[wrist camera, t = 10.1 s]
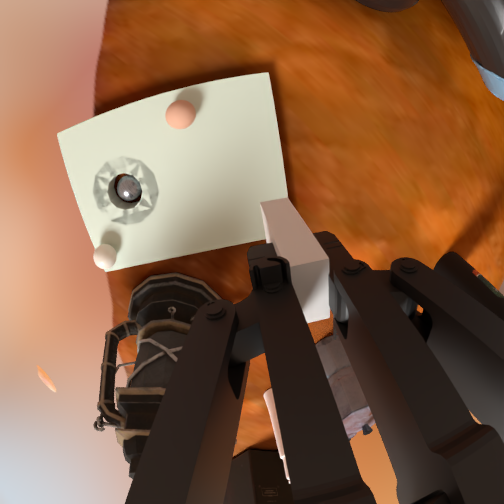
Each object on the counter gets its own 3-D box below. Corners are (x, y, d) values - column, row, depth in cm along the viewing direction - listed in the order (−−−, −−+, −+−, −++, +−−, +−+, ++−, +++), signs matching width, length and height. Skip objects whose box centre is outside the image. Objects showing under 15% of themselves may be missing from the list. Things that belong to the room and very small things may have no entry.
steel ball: (142, 171, 33) (125, 185, 34) (125, 167, 30) (108, 183, 31) (150, 192, 33) (133, 205, 34) (134, 190, 30) (116, 205, 31)
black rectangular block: (245, 478, 92) (251, 526, 70) (202, 474, 85) (205, 526, 64) (299, 449, 78) (313, 511, 56) (249, 445, 72) (258, 516, 50)
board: (66, 131, 28) (56, 133, 26) (265, 74, 28) (268, 72, 26) (110, 262, 38) (105, 272, 36) (288, 225, 38) (292, 233, 36)
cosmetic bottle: (269, 402, 59) (285, 487, 40) (259, 391, 56) (273, 483, 37) (294, 394, 58) (315, 480, 39) (284, 382, 55) (306, 475, 36)
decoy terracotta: (165, 104, 27) (159, 104, 24) (194, 97, 27) (191, 95, 24) (171, 131, 28) (166, 133, 26) (199, 124, 28) (197, 126, 26)
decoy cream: (95, 242, 34) (86, 254, 31) (114, 237, 34) (106, 249, 31) (103, 263, 35) (95, 275, 32) (123, 258, 35) (116, 271, 32)
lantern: (246, 276, 41) (282, 492, 15) (233, 350, 49) (250, 515, 23) (111, 264, 38) (30, 456, 12) (123, 340, 45) (88, 498, 19)
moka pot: (364, 320, 49) (410, 406, 31) (341, 372, 56) (371, 448, 39) (316, 323, 48) (354, 421, 30) (300, 376, 55) (323, 460, 38)
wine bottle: (435, 257, 44) (539, 372, 18) (461, 247, 44) (562, 347, 18) (429, 289, 48) (516, 402, 21) (455, 279, 48) (541, 379, 21)
